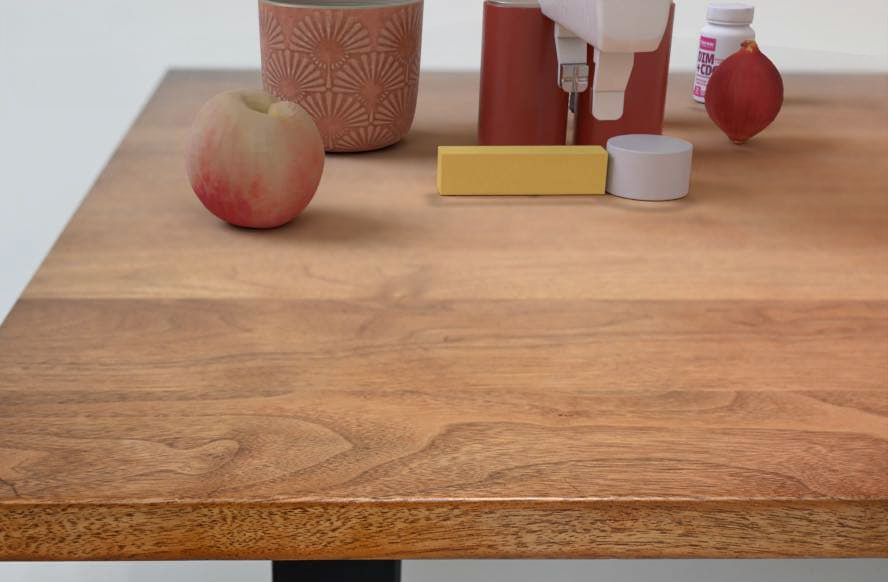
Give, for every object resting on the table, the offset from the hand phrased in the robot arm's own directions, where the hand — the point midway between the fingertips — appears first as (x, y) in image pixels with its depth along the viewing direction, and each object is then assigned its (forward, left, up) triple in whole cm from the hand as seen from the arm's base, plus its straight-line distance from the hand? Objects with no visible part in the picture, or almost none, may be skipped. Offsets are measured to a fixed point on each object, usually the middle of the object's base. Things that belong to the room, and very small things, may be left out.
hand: (587, 103), depth 82 cm
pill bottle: (-19, -31, -6) cm, 37 cm away
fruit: (+22, +7, -6) cm, 23 cm away
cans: (-1, -11, -6) cm, 13 cm away
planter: (+16, -15, -6) cm, 23 cm away
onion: (-15, -14, -6) cm, 22 cm away
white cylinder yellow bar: (+1, 0, -6) cm, 6 cm away
